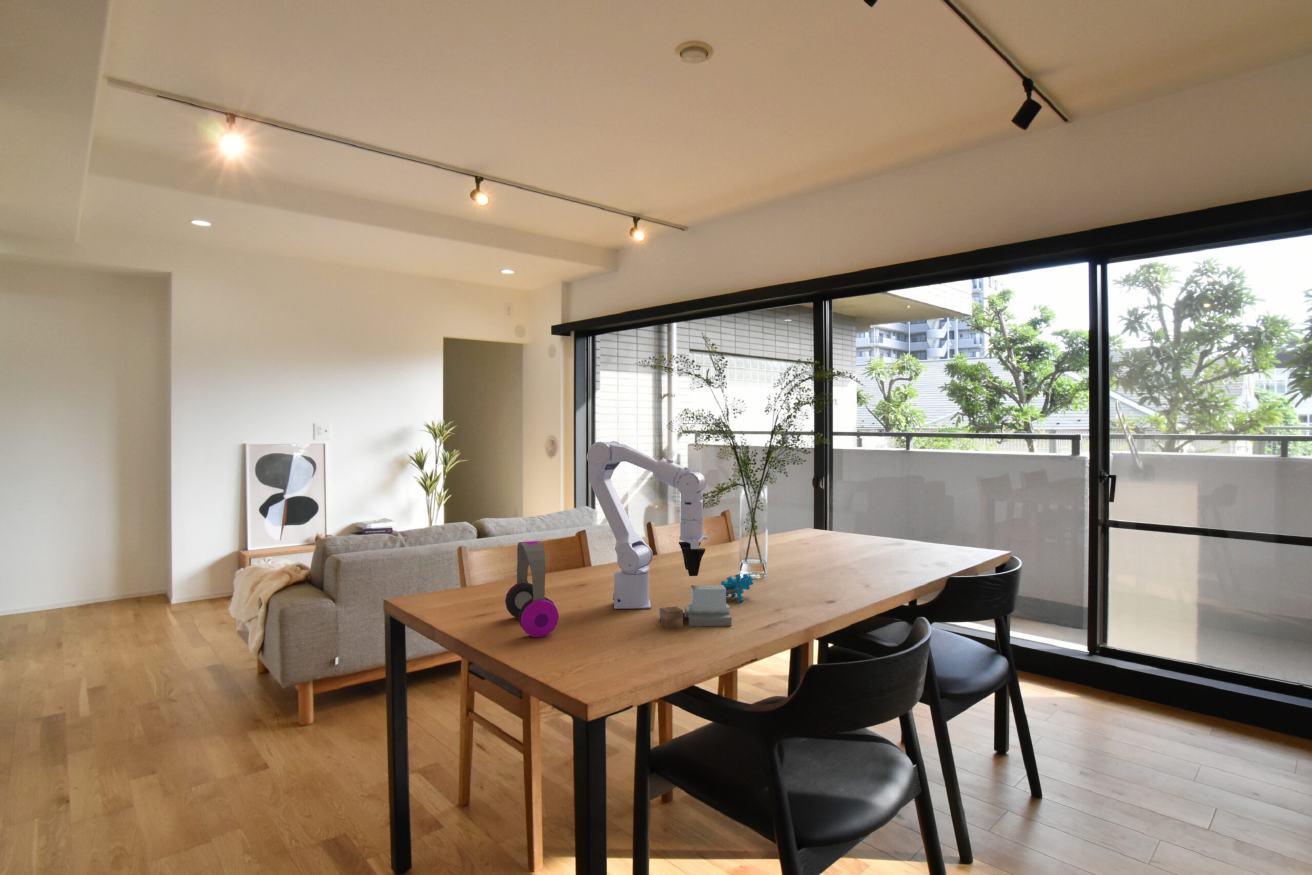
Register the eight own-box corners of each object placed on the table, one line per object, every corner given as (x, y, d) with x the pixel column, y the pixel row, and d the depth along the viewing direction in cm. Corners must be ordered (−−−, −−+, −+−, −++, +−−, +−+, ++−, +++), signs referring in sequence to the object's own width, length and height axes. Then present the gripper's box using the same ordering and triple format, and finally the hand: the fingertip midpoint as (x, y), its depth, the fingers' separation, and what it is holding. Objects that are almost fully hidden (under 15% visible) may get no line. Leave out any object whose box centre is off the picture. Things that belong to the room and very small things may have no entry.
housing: (688, 614, 162) (688, 589, 162) (686, 609, 166) (686, 585, 166) (730, 614, 163) (730, 589, 163) (727, 609, 167) (727, 584, 167)
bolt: (660, 621, 163) (660, 609, 163) (659, 618, 166) (659, 606, 166) (685, 620, 164) (685, 609, 164) (683, 617, 167) (683, 606, 167)
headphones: (503, 617, 167) (503, 536, 166) (538, 613, 170) (538, 533, 170) (521, 641, 147) (521, 549, 147) (561, 637, 151) (561, 547, 151)
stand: (689, 626, 159) (689, 618, 159) (684, 614, 169) (684, 606, 169) (731, 625, 160) (731, 617, 160) (724, 614, 170) (724, 606, 170)
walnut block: (666, 629, 157) (666, 612, 157) (661, 624, 161) (661, 607, 161) (682, 627, 159) (682, 610, 159) (676, 623, 162) (676, 606, 162)
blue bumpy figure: (748, 588, 191) (754, 568, 183) (756, 607, 187) (761, 587, 179) (711, 595, 188) (715, 576, 181) (717, 614, 184) (722, 595, 177)
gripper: (711, 522, 165) (711, 578, 165) (703, 515, 180) (703, 566, 180) (682, 523, 165) (682, 578, 165) (676, 515, 179) (676, 566, 179)
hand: (691, 572), depth 172 cm, fingers open, 7 cm apart
